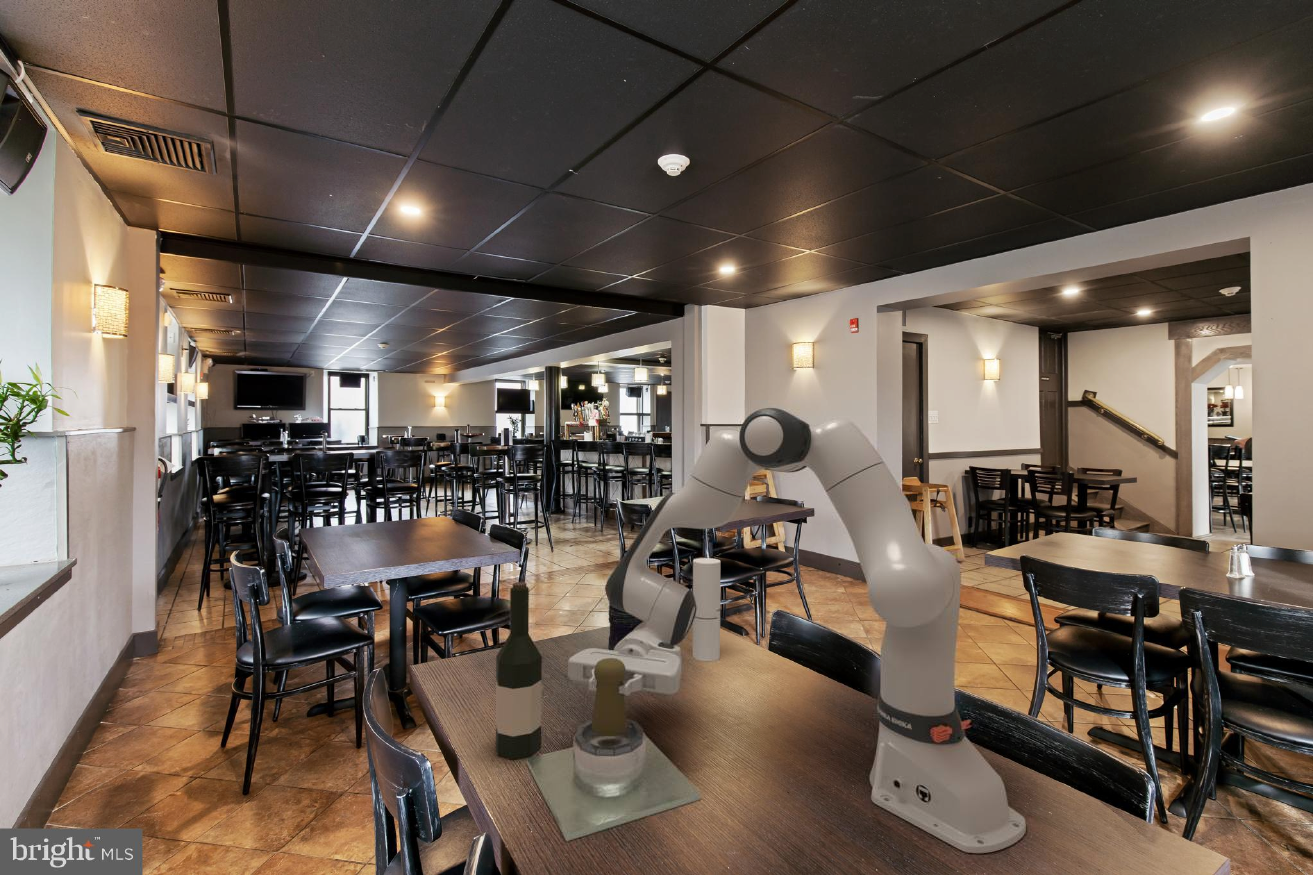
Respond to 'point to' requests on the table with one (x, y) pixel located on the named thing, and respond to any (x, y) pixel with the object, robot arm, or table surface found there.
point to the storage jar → (620, 625)
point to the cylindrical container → (706, 609)
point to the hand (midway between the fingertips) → (607, 688)
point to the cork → (609, 699)
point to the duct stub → (608, 781)
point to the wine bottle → (518, 684)
